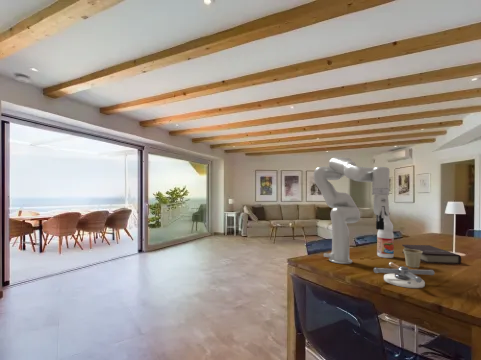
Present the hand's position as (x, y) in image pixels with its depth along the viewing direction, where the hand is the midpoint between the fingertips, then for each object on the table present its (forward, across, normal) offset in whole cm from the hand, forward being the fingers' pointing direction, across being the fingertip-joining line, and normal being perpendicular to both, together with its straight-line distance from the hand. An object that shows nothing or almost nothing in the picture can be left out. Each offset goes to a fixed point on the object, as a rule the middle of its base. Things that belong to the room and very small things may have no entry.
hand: (380, 229), depth 139 cm
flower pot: (+23, +23, -23) cm, 40 cm away
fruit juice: (+23, +45, -15) cm, 53 cm away
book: (+23, +49, -42) cm, 69 cm away
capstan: (+20, -9, -8) cm, 24 cm away
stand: (+22, -9, -8) cm, 25 cm away
